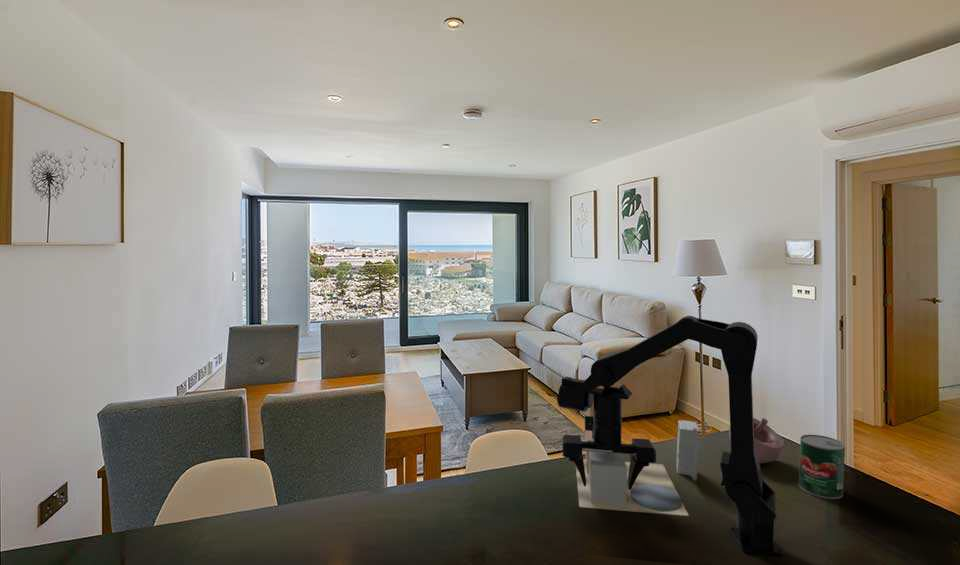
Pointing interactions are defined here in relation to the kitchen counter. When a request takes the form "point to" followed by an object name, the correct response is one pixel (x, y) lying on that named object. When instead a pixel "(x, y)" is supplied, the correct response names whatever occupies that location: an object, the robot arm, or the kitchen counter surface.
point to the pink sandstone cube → (588, 439)
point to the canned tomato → (821, 466)
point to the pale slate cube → (607, 478)
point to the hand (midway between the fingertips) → (607, 487)
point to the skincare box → (687, 448)
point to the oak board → (640, 493)
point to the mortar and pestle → (766, 442)
